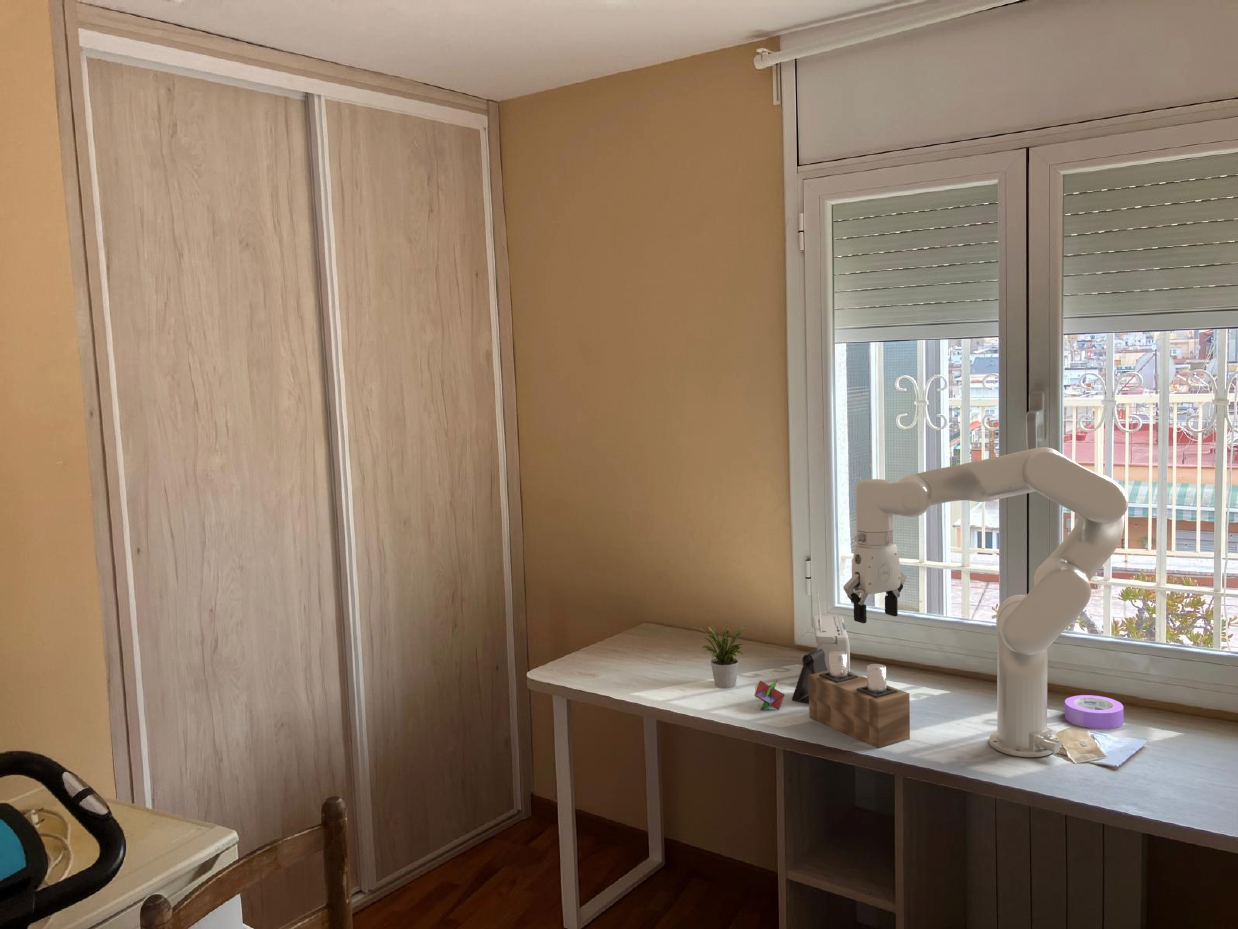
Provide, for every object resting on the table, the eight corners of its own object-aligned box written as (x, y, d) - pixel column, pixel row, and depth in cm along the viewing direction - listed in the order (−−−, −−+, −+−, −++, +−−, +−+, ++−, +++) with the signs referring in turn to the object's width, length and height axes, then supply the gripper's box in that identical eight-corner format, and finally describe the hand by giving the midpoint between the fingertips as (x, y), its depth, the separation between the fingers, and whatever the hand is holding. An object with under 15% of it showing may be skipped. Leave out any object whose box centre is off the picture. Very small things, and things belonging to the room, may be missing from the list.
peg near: (890, 708, 212) (890, 667, 211) (876, 712, 210) (876, 671, 209) (877, 703, 215) (876, 662, 214) (863, 706, 213) (862, 666, 212)
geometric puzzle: (796, 698, 232) (776, 669, 234) (783, 707, 227) (764, 677, 229) (774, 712, 236) (755, 683, 238) (761, 721, 230) (742, 691, 233)
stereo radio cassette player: (850, 688, 244) (849, 609, 242) (816, 688, 246) (815, 609, 243) (845, 662, 265) (843, 589, 263) (813, 662, 266) (812, 589, 264)
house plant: (687, 693, 245) (685, 629, 243) (696, 675, 259) (694, 614, 257) (745, 696, 242) (743, 631, 240) (751, 677, 255) (749, 616, 253)
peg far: (851, 693, 222) (851, 654, 221) (838, 696, 220) (837, 657, 219) (839, 688, 226) (838, 649, 225) (826, 691, 224) (825, 653, 223)
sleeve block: (909, 738, 211) (909, 691, 210) (878, 748, 207) (878, 700, 206) (839, 709, 230) (838, 665, 229) (809, 717, 226) (808, 673, 225)
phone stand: (791, 700, 237) (790, 652, 236) (803, 693, 242) (802, 645, 241) (826, 707, 232) (825, 657, 231) (837, 700, 237) (836, 651, 235)
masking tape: (1054, 720, 219) (1055, 703, 218) (1079, 707, 226) (1079, 691, 226) (1108, 734, 210) (1109, 717, 209) (1132, 720, 217) (1132, 703, 217)
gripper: (856, 545, 201) (857, 629, 203) (917, 535, 210) (918, 615, 212) (831, 540, 208) (832, 621, 210) (892, 530, 216) (893, 608, 218)
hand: (875, 618), depth 211 cm, fingers open, 8 cm apart
